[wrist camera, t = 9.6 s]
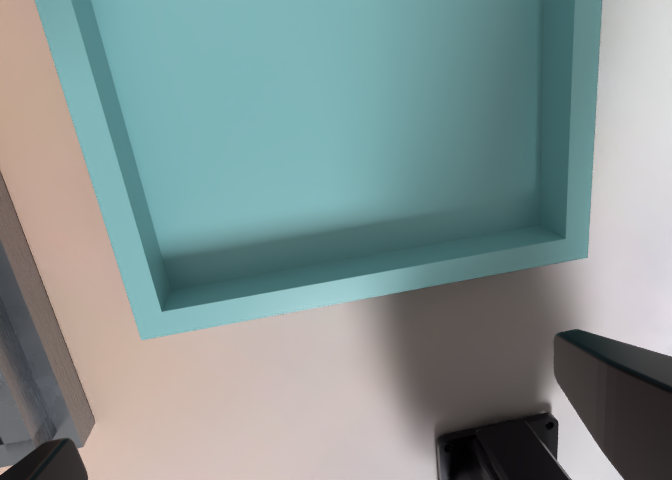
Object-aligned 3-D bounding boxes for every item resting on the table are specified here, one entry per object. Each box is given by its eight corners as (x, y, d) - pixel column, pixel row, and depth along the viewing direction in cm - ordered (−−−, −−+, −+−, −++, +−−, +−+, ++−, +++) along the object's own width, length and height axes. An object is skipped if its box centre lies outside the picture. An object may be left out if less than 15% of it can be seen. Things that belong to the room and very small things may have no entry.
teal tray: (552, 238, 22) (587, 257, 19) (156, 309, 20) (141, 340, 18) (567, -269, 15) (621, -332, 13) (-2, -226, 14) (-57, -289, 11)
